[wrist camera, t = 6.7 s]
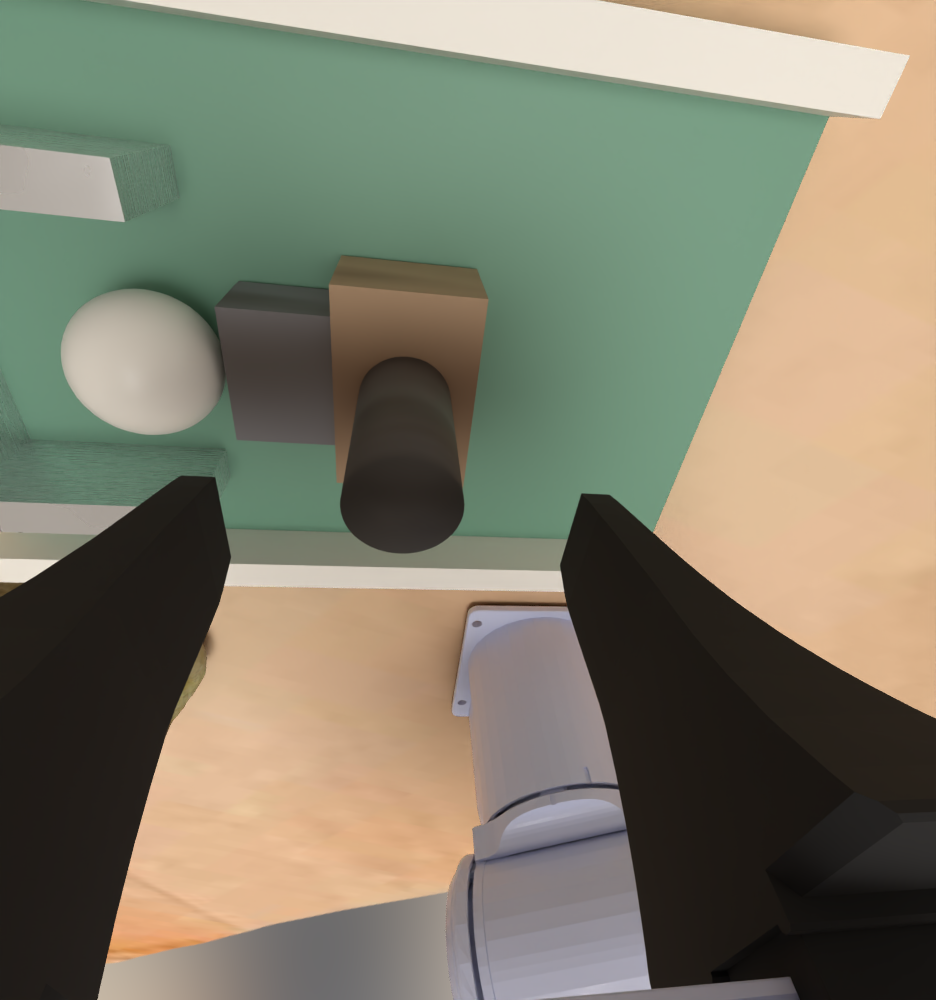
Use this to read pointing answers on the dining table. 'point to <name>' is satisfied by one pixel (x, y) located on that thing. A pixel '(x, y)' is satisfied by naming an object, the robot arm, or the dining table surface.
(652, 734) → the robot arm
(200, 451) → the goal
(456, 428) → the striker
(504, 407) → the pitch
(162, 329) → the ball
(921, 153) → the dining table surface
